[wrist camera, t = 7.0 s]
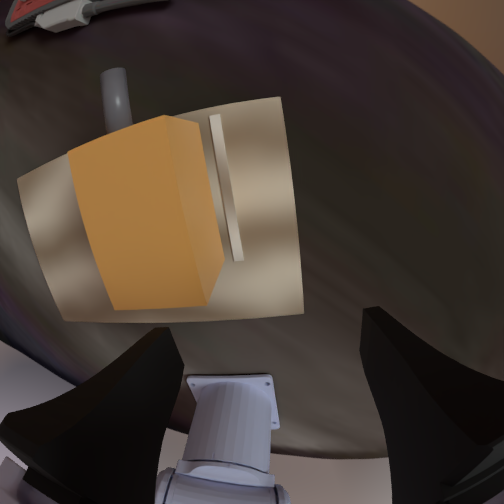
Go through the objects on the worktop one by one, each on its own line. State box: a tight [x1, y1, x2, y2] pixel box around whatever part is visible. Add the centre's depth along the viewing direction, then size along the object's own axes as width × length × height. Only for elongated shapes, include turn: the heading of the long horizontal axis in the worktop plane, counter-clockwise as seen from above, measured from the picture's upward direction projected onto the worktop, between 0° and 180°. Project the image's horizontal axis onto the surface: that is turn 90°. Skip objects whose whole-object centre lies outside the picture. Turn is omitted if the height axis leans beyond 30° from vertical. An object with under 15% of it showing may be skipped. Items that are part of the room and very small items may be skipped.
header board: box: [17, 97, 304, 323], centre depth 16 cm, size 14×22×5 cm, turn 98°
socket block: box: [67, 68, 225, 310], centre depth 12 cm, size 11×5×5 cm, turn 9°
